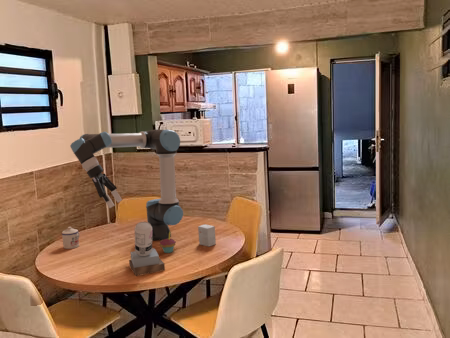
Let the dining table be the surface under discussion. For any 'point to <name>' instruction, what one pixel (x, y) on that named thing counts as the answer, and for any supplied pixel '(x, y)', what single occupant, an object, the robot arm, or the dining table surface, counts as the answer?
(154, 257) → the tower top slab
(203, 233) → the small box
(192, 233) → the dining table surface
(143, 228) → the supplement can
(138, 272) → the tower base slab
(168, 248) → the cupcake
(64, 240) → the teacup with lid
